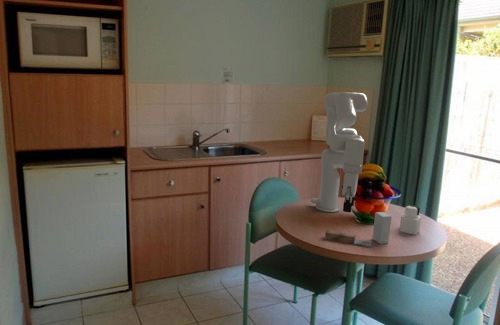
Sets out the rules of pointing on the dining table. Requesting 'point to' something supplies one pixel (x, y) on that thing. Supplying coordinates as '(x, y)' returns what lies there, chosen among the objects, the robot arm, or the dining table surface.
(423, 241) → the dining table surface
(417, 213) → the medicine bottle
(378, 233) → the skincare box
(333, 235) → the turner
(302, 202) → the dining table surface
